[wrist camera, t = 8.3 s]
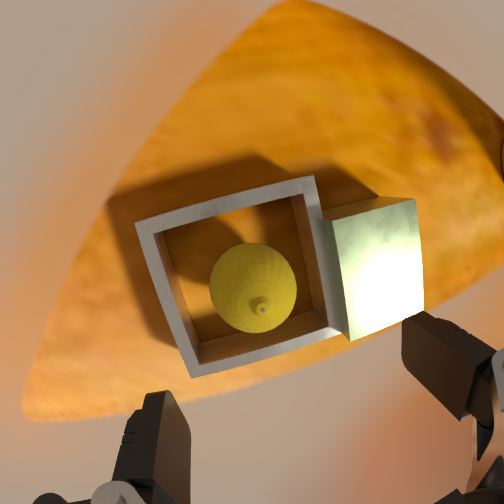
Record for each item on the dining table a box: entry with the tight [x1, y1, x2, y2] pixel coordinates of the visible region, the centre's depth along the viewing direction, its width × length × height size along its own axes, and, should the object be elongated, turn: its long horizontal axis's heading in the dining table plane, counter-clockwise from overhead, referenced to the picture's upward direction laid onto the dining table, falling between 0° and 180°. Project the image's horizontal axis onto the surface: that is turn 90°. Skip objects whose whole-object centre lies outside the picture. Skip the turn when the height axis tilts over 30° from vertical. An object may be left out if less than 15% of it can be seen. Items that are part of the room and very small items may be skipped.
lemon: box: [209, 243, 297, 333], centre depth 19 cm, size 6×6×8 cm
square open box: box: [134, 175, 423, 378], centre depth 21 cm, size 19×12×5 cm, turn 104°
